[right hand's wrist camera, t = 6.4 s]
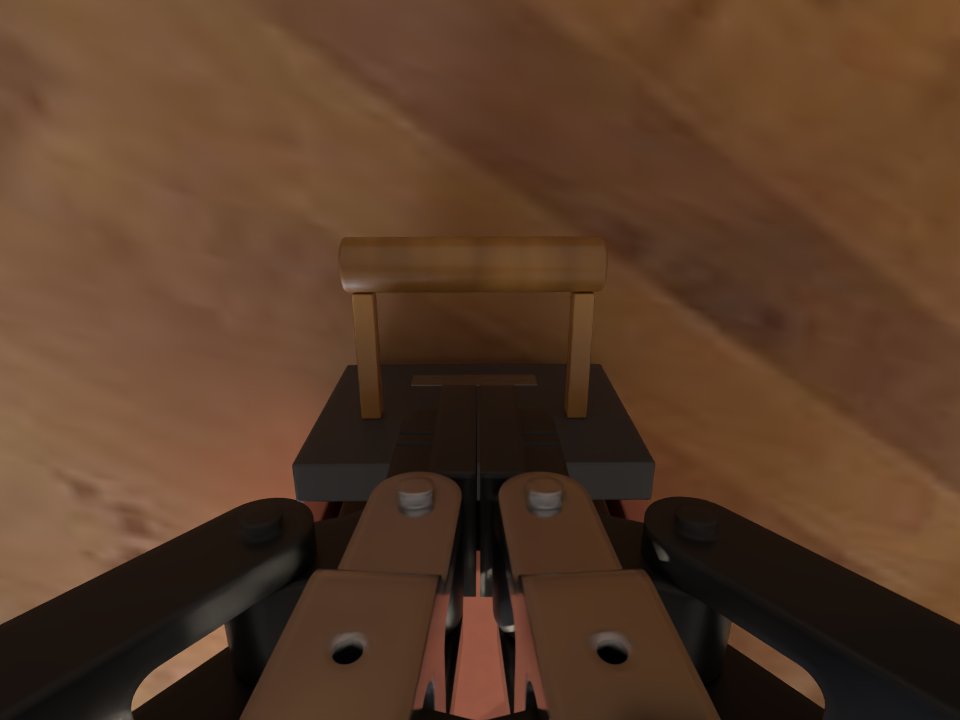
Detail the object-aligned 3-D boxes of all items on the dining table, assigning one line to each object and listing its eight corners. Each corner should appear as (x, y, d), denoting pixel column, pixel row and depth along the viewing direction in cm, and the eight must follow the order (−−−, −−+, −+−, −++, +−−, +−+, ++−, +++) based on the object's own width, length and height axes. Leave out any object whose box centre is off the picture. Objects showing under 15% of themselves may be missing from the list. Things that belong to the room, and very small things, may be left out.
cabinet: (342, 417, 24) (269, 571, 16) (606, 416, 24) (678, 568, 16) (374, 762, 31) (336, 997, 23) (577, 760, 32) (616, 993, 23)
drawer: (334, 217, 20) (263, 258, 14) (612, 217, 21) (681, 256, 14) (378, 727, 29) (349, 908, 22) (573, 725, 29) (603, 905, 22)
